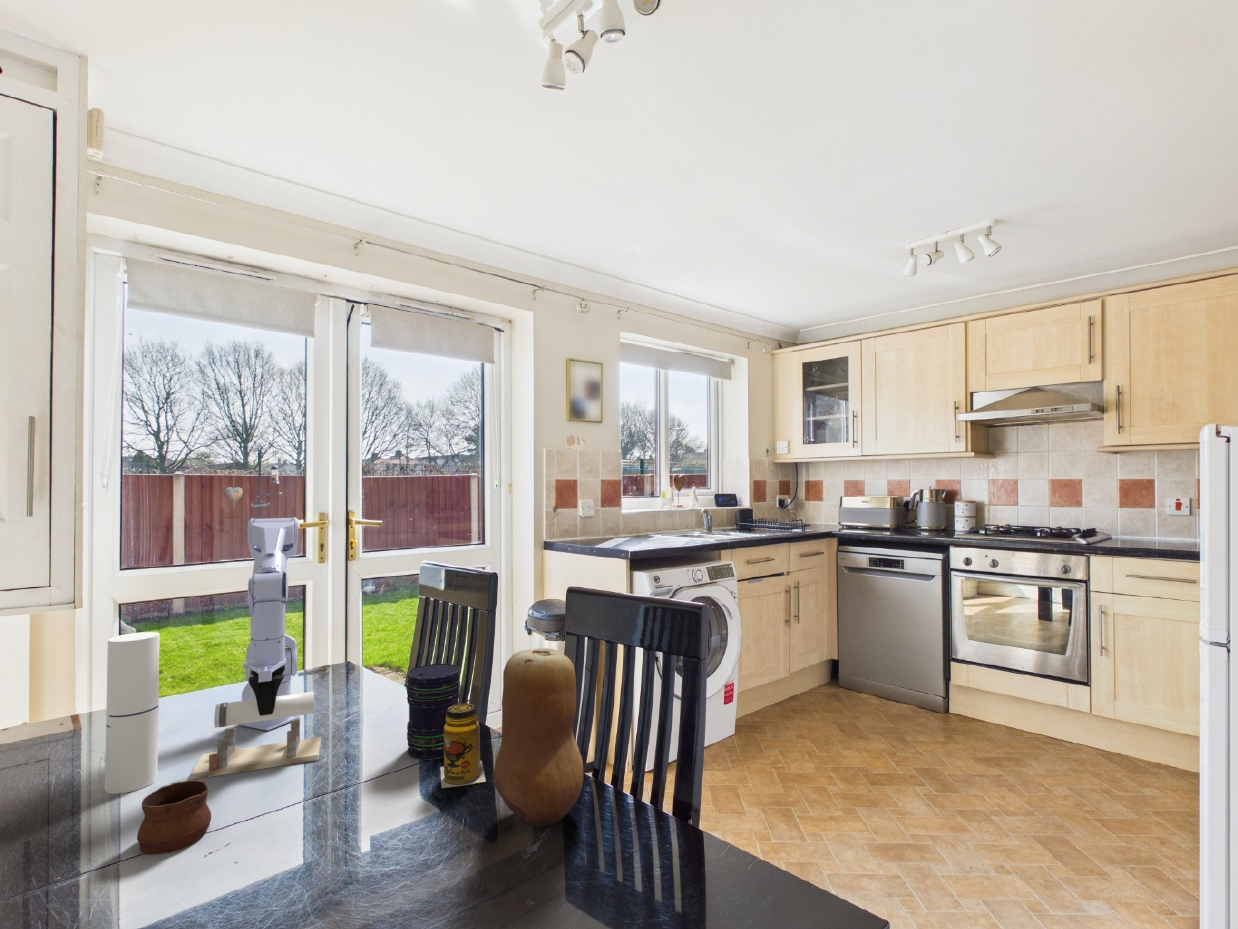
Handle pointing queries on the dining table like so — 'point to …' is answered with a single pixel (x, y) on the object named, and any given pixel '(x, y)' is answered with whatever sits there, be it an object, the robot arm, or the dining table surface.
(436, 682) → the storage jar
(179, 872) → the dining table surface
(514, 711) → the butternut squash
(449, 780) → the condiment
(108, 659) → the cylindrical container
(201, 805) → the ceramic pot
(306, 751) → the tube stand
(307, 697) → the tube
